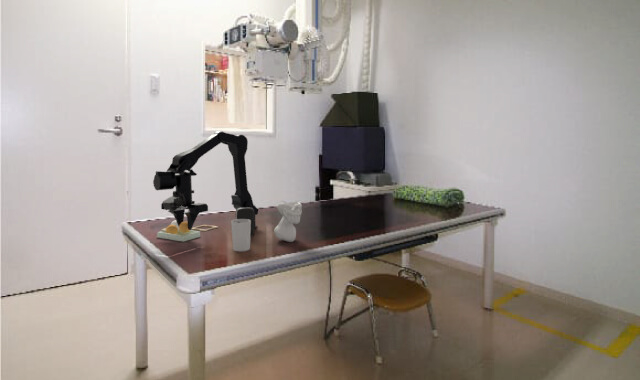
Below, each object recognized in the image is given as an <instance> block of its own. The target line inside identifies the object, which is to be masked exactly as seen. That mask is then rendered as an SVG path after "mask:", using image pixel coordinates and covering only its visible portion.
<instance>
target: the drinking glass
mask: <svg viewBox="0 0 640 380" xmlns="http://www.w3.org/2000/svg"><path fill="white" fill-rule="evenodd" d="M230 223H231V225H230V226H231V239H232V240H231V241H232V250H233V251H235V252H246V251H249V250H251V236H250V231H251V220H249V219H236V218H235V219H232V220H231V221H230Z"/></svg>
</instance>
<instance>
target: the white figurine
mask: <svg viewBox="0 0 640 380" xmlns="http://www.w3.org/2000/svg"><path fill="white" fill-rule="evenodd" d="M302 207H303V204H302V202H299V201H298V200H293V201H290V202H286V201H285V200H282V201H280V202H279V203H278V205H277V211H278V213H279V214H281V215H282V217H281V219H280V221H279V222H278V224H277V225H276V227H275V228H274V230H273V232H274V235H275V237H276V238H277V239H279V240H281V241H285V242H288V243H293V242H294V241H295V240H296V236H297V229H296V227H295V226H294V224H295V225H297V224H299V223H300V221H301V216H302V213H303V210H302Z"/></svg>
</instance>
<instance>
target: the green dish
mask: <svg viewBox="0 0 640 380" xmlns="http://www.w3.org/2000/svg"><path fill="white" fill-rule="evenodd" d="M156 236H157V237H156V238H158V239H164V240H171V241H178V242H186V241H190V240H194V239H196V238H200V237H201V231H198V230H190V231H189V232H188V233H182V232H181V231H180V230H179V228H178V233H177V234H170V233H166V230H164V231H162V230H160V231H157V232H156Z"/></svg>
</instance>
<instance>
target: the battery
mask: <svg viewBox="0 0 640 380" xmlns="http://www.w3.org/2000/svg"><path fill="white" fill-rule="evenodd" d="M236 219H249V220H251V231H250V237H255V228H254V210H253V209H252V208H250V207H243V208H238V209H237V210H236V209H235V220H236Z"/></svg>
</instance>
